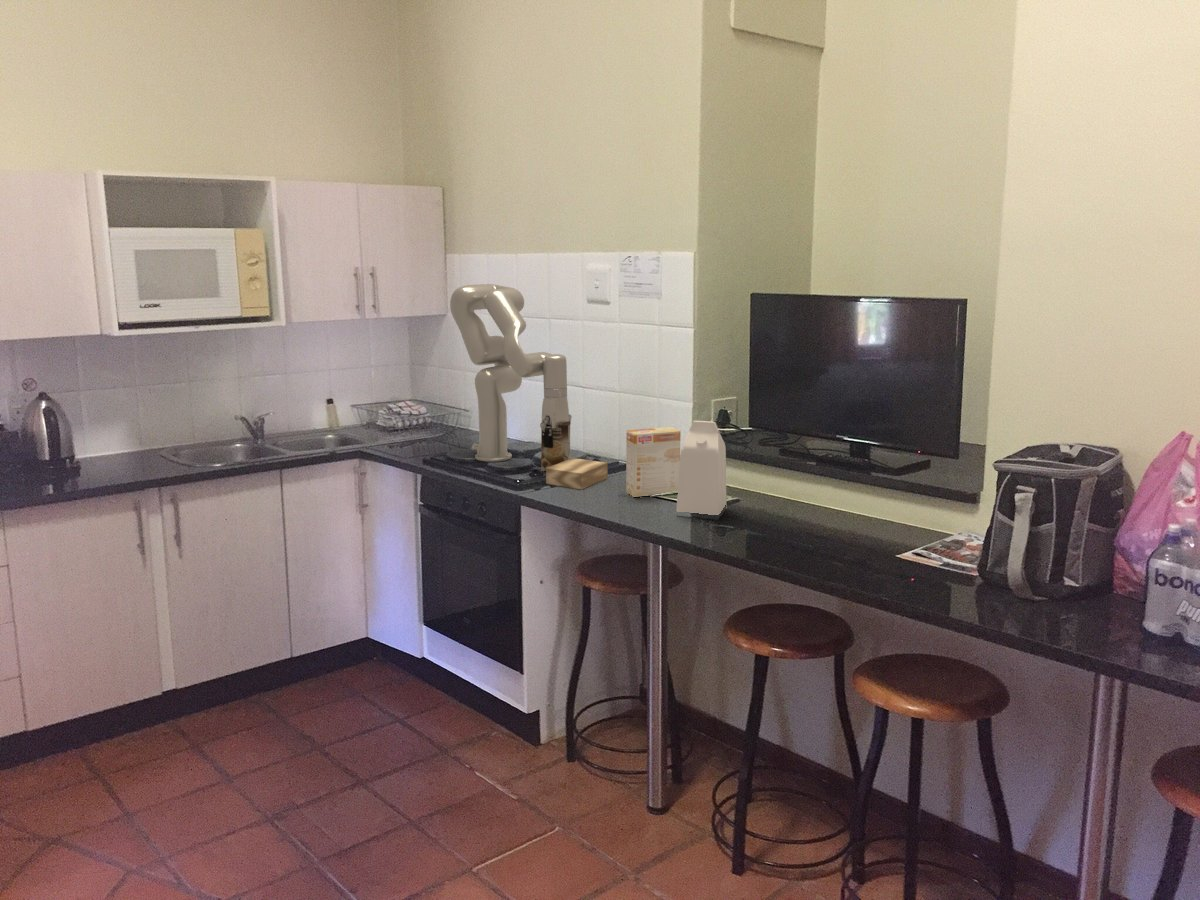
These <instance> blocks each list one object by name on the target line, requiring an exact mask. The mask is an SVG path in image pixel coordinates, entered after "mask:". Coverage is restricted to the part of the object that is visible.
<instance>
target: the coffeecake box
mask: <svg viewBox="0 0 1200 900" xmlns="http://www.w3.org/2000/svg"><path fill="white" fill-rule="evenodd" d="M681 433H682V432H681V430H680V429H677V428H675V426H674V427H673V426H665V427H652V428H638V429H627V430H626V445H625V446H626V448H625V449H626V451H625V453H626V457H625V458H626V461H625V462H626V466H625V467H626V468H625V471H626V472H625V473H626V479H625V480H626V481H625V482H626V484H625V485H626V487H625V489H626V491H625V492H627V493H629V494H630V495H629V494H628V495H629V496H631V495H632V496H633V497H638V496H648V495H654V494H661V493H666V492H672V491H678V481H679V468H680V455H681ZM632 496H631V497H632ZM633 497H632V498H633Z"/></svg>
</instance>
